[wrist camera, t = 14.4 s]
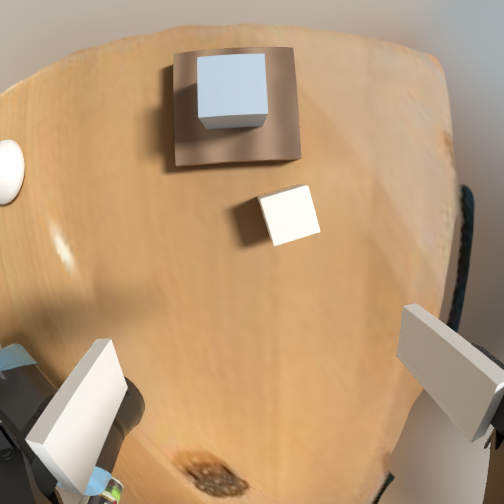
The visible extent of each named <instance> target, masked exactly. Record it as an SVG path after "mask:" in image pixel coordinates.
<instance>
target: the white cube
mask: <svg viewBox="0 0 504 504" xmlns="http://www.w3.org/2000/svg"><path fill="white" fill-rule="evenodd" d="M257 198H258V201H259V204H260V207H261V211H262V214H263V217H264V220H265V224H266V227H267V230H268V233H269V237H270V239H271V241H272V243H273V244H274V246H277V245H280V244H283V243H286V242H289V241H293V240H296V239H299V238H302V237H305V236H309V235H312V234H315V233H318V232H320V228H319V224H318V220H317V217H316V213H315V209H314V206H313V202H312V198H311V195H310V191H309V188H308V185H303V184H297V185H293V186H290V187H287V188H283V189H280V190H276V191H273V192H270V193H266V194H263V195H260V196H257Z"/></svg>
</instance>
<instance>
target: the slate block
mask: <svg viewBox="0 0 504 504" xmlns="http://www.w3.org/2000/svg"><path fill="white" fill-rule="evenodd" d="M197 85H198V118H199V119H200V121H201V122H202V123H203V125H204V126H205V128H206V129H220V128H237V127H262V126H263V124H264V122H265V120H266V117H267V115H268V102H267V85H266V69H265V54H233V55H217V56H205V57H197Z"/></svg>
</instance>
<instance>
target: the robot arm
mask: <svg viewBox="0 0 504 504" xmlns="http://www.w3.org/2000/svg"><path fill="white" fill-rule="evenodd" d="M396 356H397V357H398V358H399V360H400V361H401V362H402V363H403V364H404V365H405V366H406V368H407V369H408V370H409V371H410V372H411V373H412V375H413V376H414V377H415V378H416V379H417V380H418V381H419V383H420V384H421V385H422V386H423V387H424V388H425V390H426V391H427V392H428V393H429V394H430V396H431V397H432V398H433V399H434V400H435V401H436V403H437V404H438V405H439V406H440V407H441V409H442V410H443V411H444V412H445V413H446V414H447V416H448V417H449V418H450V419H451V421H452V422H453V423H454V424H455V425H456V427H457V428H458V429H459V430H460V432H461V433H462V434H463V435H464V437H465V438H466V439H467V440H468V442H469V443H471V442H473V441H475V440H477V439H478V438H480V437H482V436H483V435H484V434H485V432H486V431H487V428H488V427H489V425H490V423H491V425H492V426H493V427H494V429H493V431H492V433H491V435H490V437H489V439H488V440H487V442H486V443H485V446H484V448H485V449H486V448H487V446H488V444H489V443H490V442H491V447H490V460H489V468H488V476H487V483H486V489H485V494H484V500H483V504H504V364H503V363H502V362H501V361H499V360H497V358H495V357H494V356H493V355H491V354H490V353H489V352H488V351H487V350H485V349H484V348H483V347H480V346H477V345H475V344H473V343H472V344H470V343H469V342H467V341H466V340H465V339H464V338H462V337H461V336H460V335H458V334H457V333H456V332H454V331H453V330H452V329H450V328H449V327H448V326H446V325H445V324H444V323H442V322H441V321H440V320H438V319H437V318H436V317H434V316H433V315H432V314H430V313H429V312H428V311H426V310H425V309H423V308H422V307H421V306H419V305H418V304H417V303H415V304H410V305H406V306H403V311H402V320H401V328H400V335H399V342H398V349H397V355H396ZM144 410H145V404H144V400H143V397H142V395H141V393H140V392H139V390H138V389H137V388H136V386H135V385H134V384H133V383H132V382H131V381H129V380H128V379H127V378H126V377H124V376H123V373H122V370H121V367H120V364H119V362H118V359H117V356H116V353H115V350H114V346H113V343H112V340H111V339H96V341H95V342H94V343H93V344H92V346H91V347H90V348H89V350H88V351H87V352H86V353H85V355H84V356H83V357H82V359H81V360H80V361H79V363H78V364H77V365H76V367H75V368H74V369H73V371H72V372H71V373H70V375H69V376H68V378H67V379H66V380H65V382H64V383H63V384H62V386H61V387H60V389H59V390H58V388H57V387H56V386H55V385H54V384H53V382H52V381H51V380H50V379H49V378H48V376H47V375H46V374H45V373H44V372H43V370H42V369H41V368H40V366H39V365H38V362H37V361H34V359H33V358H32V357H31V356H30V354H29V353H28V352H27V351H26V349H25V348H24V347H23V346H22V345H20V344H16V343H13V344H10V345H8V346H6V347H4V348H3V349H1V350H0V504H63V501H62V499H61V497H60V494H59V493H58V491H57V490H56V489H55V487H56V485H58V486H60V487H62V488H64V489H65V490H66V491H68V492H72V493H75V494H79V495H83V496H84V495H88V496H94V495H99V494H101V493H103V492H104V490H105V488H106V486H107V484H108V482H109V480H110V479H111V477H112V475H111V474H112V471H113V468H114V466H115V463H116V460H117V457H118V454H119V451H120V448H121V446H122V443H123V440H124V438H125V436H126V435H127V434H128V433H129V432H130V431H131V430H132V429H133V428H134V427H135V426H136V425H137V424H138V423H139V422H140V421H141V419H142V416H143V413H144Z"/></svg>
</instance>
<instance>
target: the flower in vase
mask: <svg viewBox="0 0 504 504" xmlns="http://www.w3.org/2000/svg"><path fill="white" fill-rule="evenodd" d="M24 172H25V162H24V156H23V153H22V151H21V149H20V147H19V145H18V144H17V143H16V142H15V141H13V140H10V139H6V140H3V141H1V142H0V204H7V203H9V202H11V201H12V200H13V199H14V198H15V196H16V195H17V194H18V192H19V190H20V188H21V185H22V183H23V179H24Z"/></svg>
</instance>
